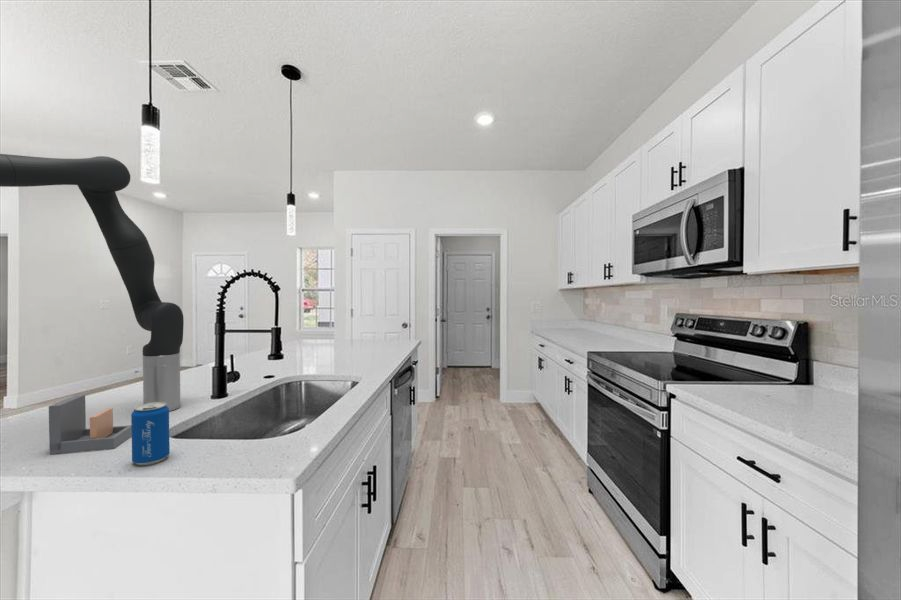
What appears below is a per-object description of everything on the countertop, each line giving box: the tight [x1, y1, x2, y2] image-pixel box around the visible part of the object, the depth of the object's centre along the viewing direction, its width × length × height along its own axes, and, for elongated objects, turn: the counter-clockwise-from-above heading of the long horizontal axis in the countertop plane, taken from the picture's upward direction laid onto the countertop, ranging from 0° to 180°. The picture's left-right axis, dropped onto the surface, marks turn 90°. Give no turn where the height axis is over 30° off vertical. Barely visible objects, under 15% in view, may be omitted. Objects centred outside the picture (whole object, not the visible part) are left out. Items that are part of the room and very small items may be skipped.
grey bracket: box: [48, 394, 132, 455], centre depth 92 cm, size 12×9×11 cm
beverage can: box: [130, 402, 171, 466], centre depth 84 cm, size 6×6×12 cm
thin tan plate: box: [89, 407, 114, 439], centre depth 93 cm, size 1×7×6 cm, turn 17°
